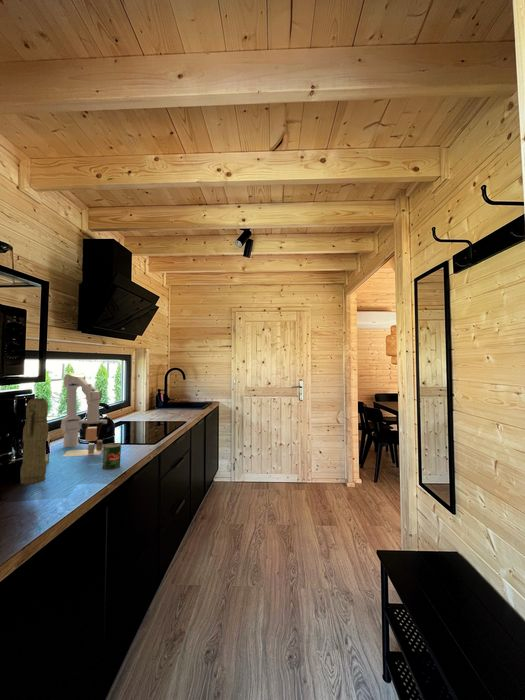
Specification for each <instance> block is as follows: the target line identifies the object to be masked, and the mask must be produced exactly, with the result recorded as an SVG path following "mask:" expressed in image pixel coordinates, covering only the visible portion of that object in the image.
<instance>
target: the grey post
mask: <svg viewBox="0 0 525 700" xmlns="http://www.w3.org/2000/svg"><path fill="white" fill-rule="evenodd" d="M87 445H88V447H87V448H88V454H91V453H94V449H95V442H93V443H92V442H91V443H88V444H87Z"/></svg>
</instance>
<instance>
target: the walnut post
mask: <svg viewBox="0 0 525 700" xmlns="http://www.w3.org/2000/svg"><path fill="white" fill-rule="evenodd" d="M103 441H104V440H101V439H97V440H96V448H95V449H96V450H102V449H103ZM102 451H103V450H102Z"/></svg>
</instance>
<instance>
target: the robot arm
mask: <svg viewBox="0 0 525 700" xmlns="http://www.w3.org/2000/svg"><path fill="white" fill-rule="evenodd" d="M86 380H87V379H86V375H85V373H82V372H80V373H65V375H64V377H63V387H64V388H65V389H66V415H65V416H64V417H63V418H62V419H61V424H60V430H61V431H62V433H63V444H62V446H61V448H76V447H78V446H79V435H80V434H79V432H80V430H81V429H82V431H83V434H84V438H85V439H86V428H88V427H89V425H95V424H96V427H97V437H98V438H99V436H100V432H101V430H102V428H103V425H107V424H108V419H100V418H99V413H100V401H101V400H102V399H103V398H102V397H103V396H102V394H103V393H102V391H101V390H97V389H96V388H95V387H94V386H93V385H92V383H88V381H86ZM79 387H81V391H82V393H83V394H84V395H85V400H86V405H87V409H86V410H87V413H86V419H83V420H82V418H81V416H79V415H78V413H77V389H78V388H79Z"/></svg>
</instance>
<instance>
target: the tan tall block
mask: <svg viewBox="0 0 525 700" xmlns="http://www.w3.org/2000/svg"><path fill="white" fill-rule="evenodd" d="M25 411H26V412H25V418H26V420H25V424H24V426H23V429H22V441H23V449H22V451H23V452H22V464H21V466H20V472H19V473H20V477H19V478H20V483H21V484H20V485H22V484H24V486H30V485H31V484H32V485H37V484H40V483H42V481H43V482H45V480H46V474H47V464H48V463H46V461H45V455H46V441H47V439H48V435H49V424H48V419H47V418H48V411H49V405H48V400H47V398H46V399H45V398H43V397H41V398H40V397H38V398H36V397H35V398H31V399H29V400H28V402H27V404H26V408H25ZM36 483H37V484H36ZM32 485H31V486H32Z"/></svg>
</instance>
